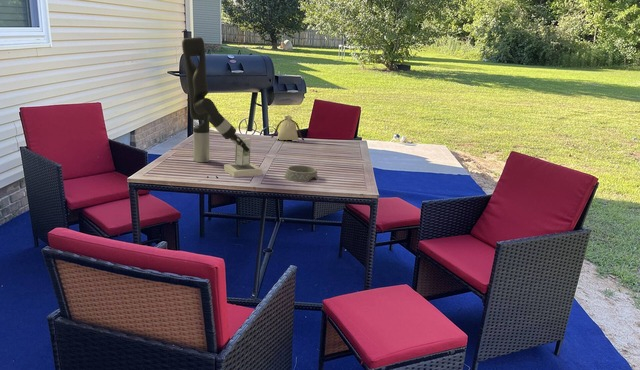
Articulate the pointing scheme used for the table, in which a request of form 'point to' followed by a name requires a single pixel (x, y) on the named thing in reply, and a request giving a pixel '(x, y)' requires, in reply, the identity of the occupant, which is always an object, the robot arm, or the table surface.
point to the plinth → (242, 170)
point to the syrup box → (243, 153)
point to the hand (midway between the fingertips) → (245, 149)
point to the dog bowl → (300, 173)
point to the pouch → (288, 130)
